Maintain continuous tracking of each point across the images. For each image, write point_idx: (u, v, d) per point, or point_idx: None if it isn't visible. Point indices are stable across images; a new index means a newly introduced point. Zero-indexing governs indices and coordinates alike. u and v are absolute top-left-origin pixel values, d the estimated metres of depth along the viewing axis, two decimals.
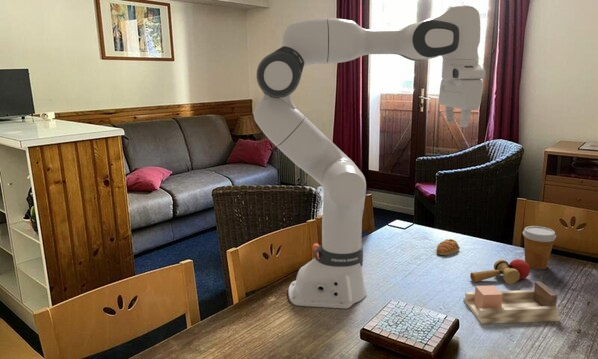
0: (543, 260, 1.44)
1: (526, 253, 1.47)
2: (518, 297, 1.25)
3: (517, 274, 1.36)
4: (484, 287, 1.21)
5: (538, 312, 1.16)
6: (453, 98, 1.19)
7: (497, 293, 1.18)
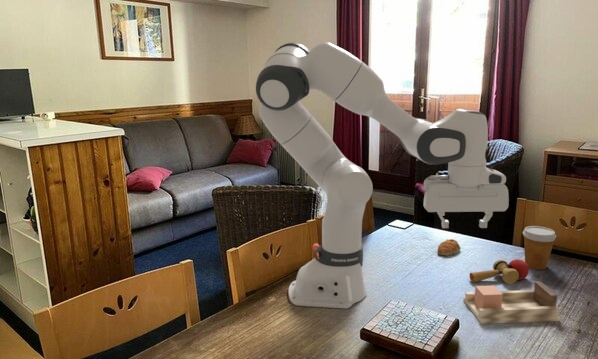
0: (543, 260, 1.44)
1: (526, 253, 1.47)
2: (518, 297, 1.25)
3: (516, 274, 1.36)
4: (484, 287, 1.21)
5: (538, 312, 1.16)
6: (472, 203, 1.13)
7: (497, 293, 1.18)
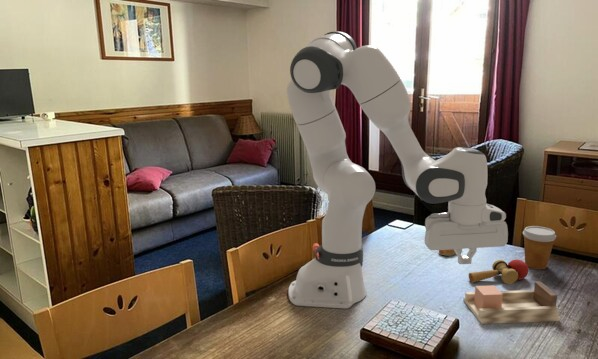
0: (543, 260, 1.44)
1: (526, 253, 1.47)
2: (518, 297, 1.25)
3: (515, 274, 1.36)
4: (484, 287, 1.21)
5: (538, 312, 1.16)
6: (473, 240, 1.14)
7: (497, 293, 1.18)
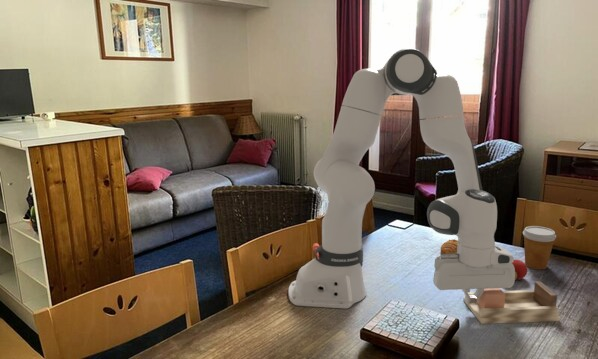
0: (543, 260, 1.44)
1: (526, 253, 1.47)
2: (518, 297, 1.25)
3: None
4: None
5: (538, 312, 1.16)
6: (481, 281, 1.17)
7: (500, 293, 1.18)
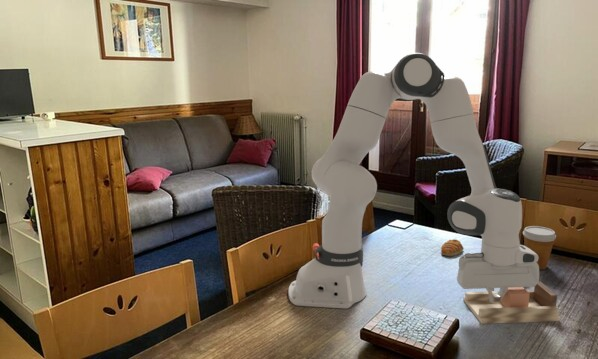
0: (543, 260, 1.44)
1: None
2: None
3: None
4: None
5: (538, 312, 1.16)
6: (505, 280, 1.17)
7: (524, 292, 1.18)
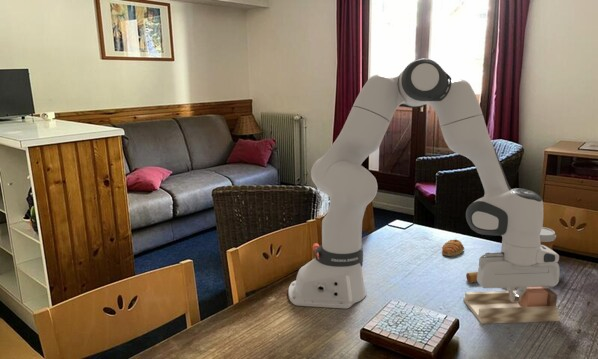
0: None
1: None
2: None
3: None
4: None
5: (538, 312, 1.16)
6: (525, 279, 1.17)
7: (542, 291, 1.18)
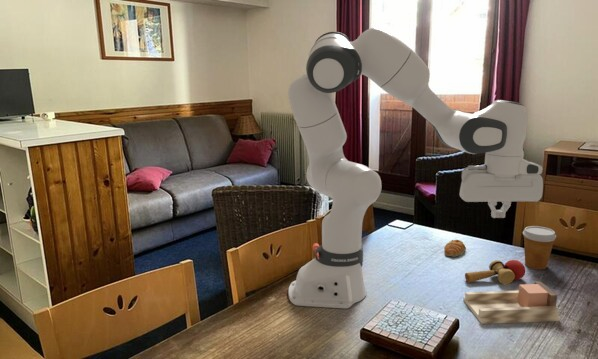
0: (543, 260, 1.44)
1: (526, 253, 1.47)
2: None
3: (512, 275, 1.35)
4: (528, 286, 1.21)
5: (538, 312, 1.16)
6: (508, 193, 1.16)
7: (542, 291, 1.18)
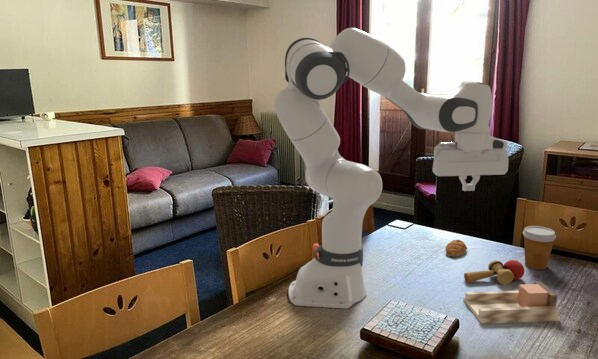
0: (543, 260, 1.44)
1: (526, 253, 1.47)
2: None
3: (511, 275, 1.35)
4: (528, 286, 1.21)
5: (538, 312, 1.16)
6: (477, 167, 1.25)
7: (542, 291, 1.18)
